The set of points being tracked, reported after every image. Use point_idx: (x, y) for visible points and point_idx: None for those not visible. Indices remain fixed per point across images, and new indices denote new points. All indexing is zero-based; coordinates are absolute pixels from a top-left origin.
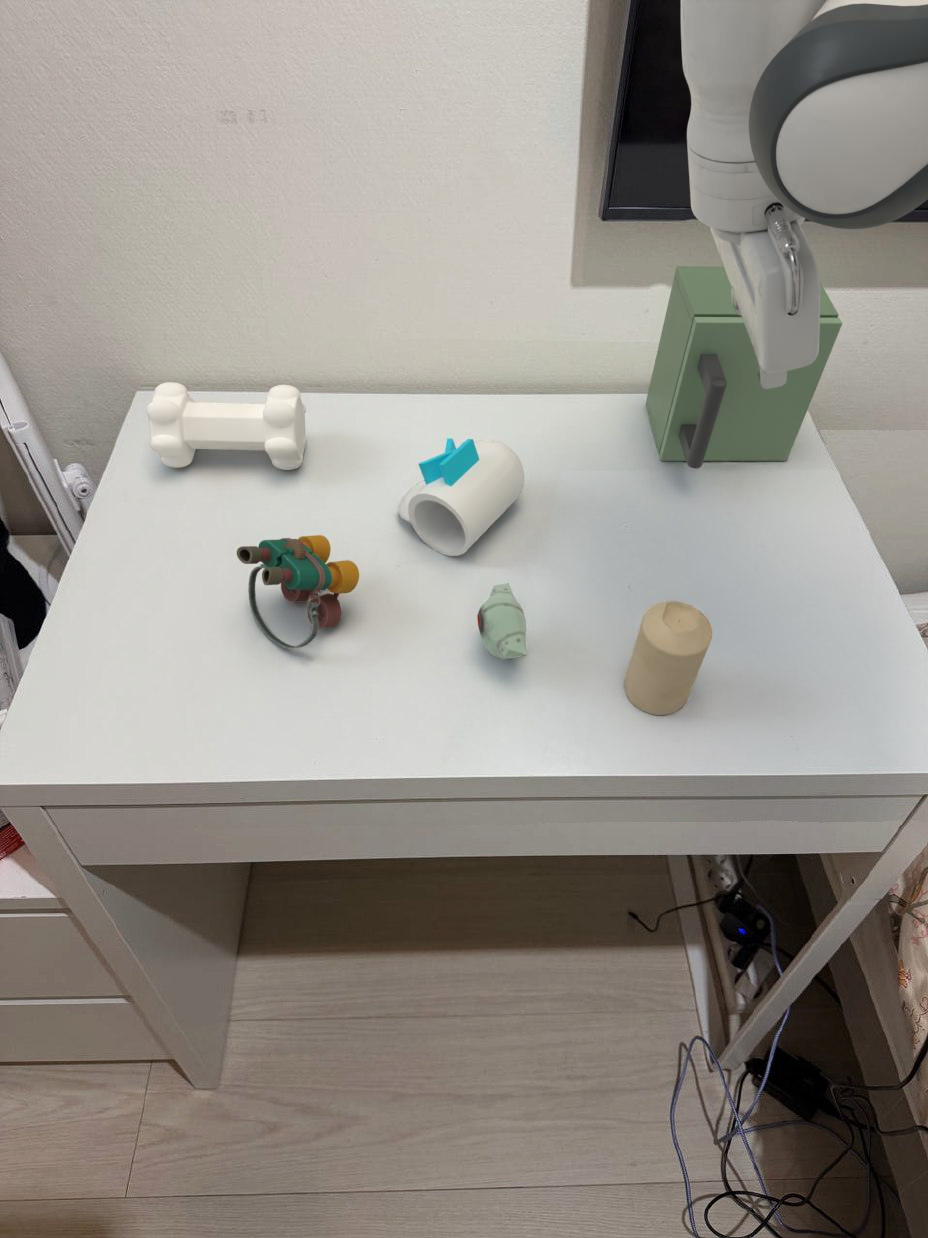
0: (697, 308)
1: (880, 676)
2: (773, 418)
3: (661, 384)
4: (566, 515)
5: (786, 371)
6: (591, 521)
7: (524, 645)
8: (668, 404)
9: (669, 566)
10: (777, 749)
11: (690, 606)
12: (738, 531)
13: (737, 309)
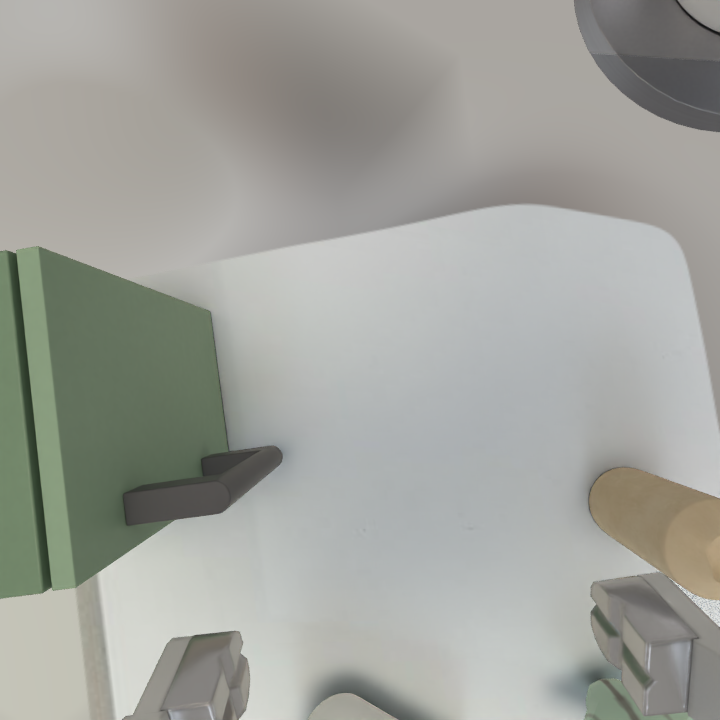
0: (19, 584)
1: (562, 248)
2: (181, 344)
3: None
4: (354, 608)
5: (701, 611)
6: (361, 575)
7: (687, 715)
8: None
9: (427, 477)
10: (683, 373)
11: (700, 539)
12: (352, 386)
13: (246, 705)
